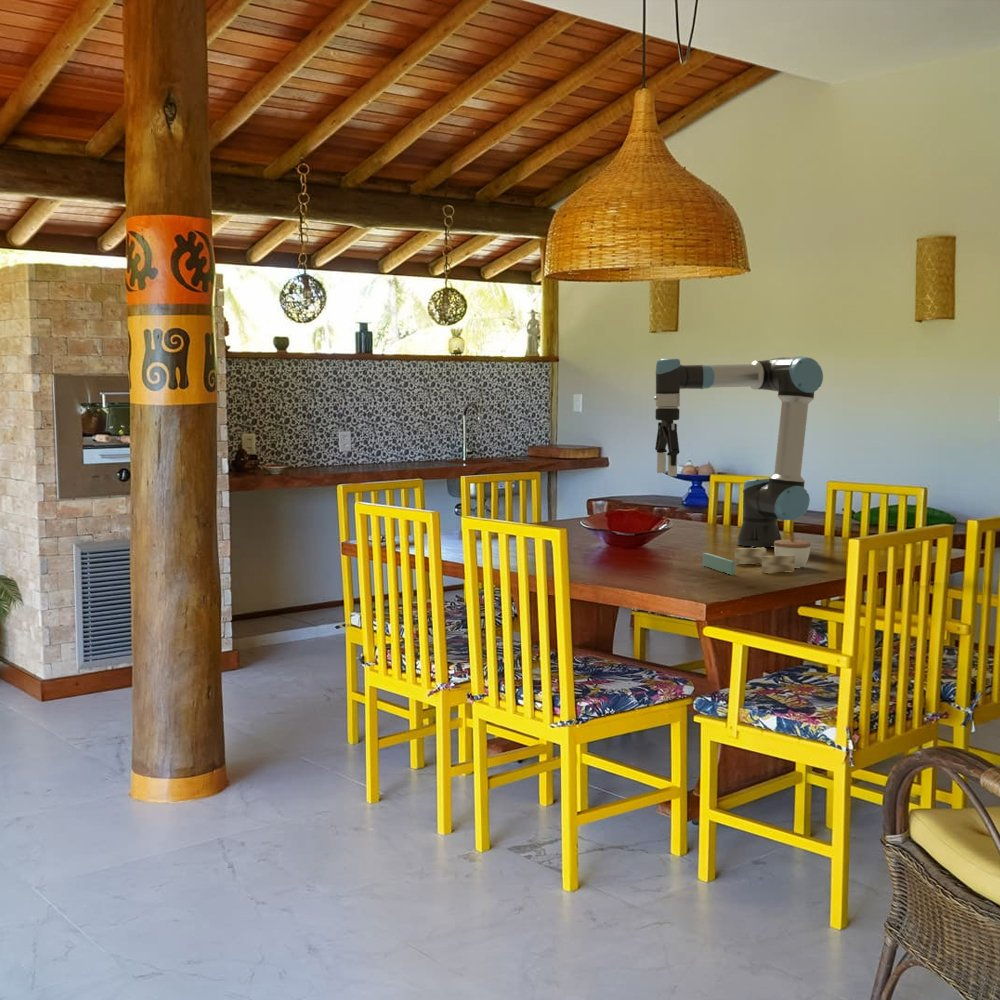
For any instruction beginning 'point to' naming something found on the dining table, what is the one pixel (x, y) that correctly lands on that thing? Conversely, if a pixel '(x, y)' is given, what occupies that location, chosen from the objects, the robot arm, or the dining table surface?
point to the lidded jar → (793, 550)
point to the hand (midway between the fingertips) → (666, 474)
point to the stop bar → (718, 563)
